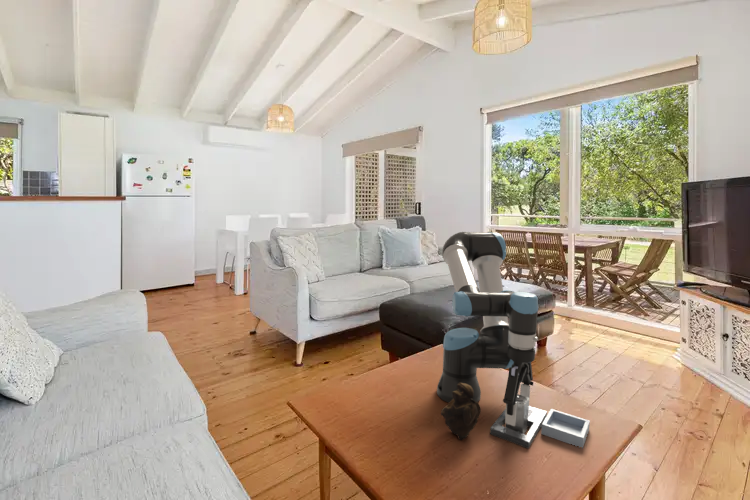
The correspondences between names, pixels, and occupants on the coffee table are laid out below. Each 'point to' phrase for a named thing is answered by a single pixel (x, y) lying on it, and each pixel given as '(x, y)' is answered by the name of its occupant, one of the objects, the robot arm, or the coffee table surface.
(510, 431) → the grey slotted plate
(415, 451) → the coffee table surface
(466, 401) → the sculpture
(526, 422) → the knob block
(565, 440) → the tray
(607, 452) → the coffee table surface
